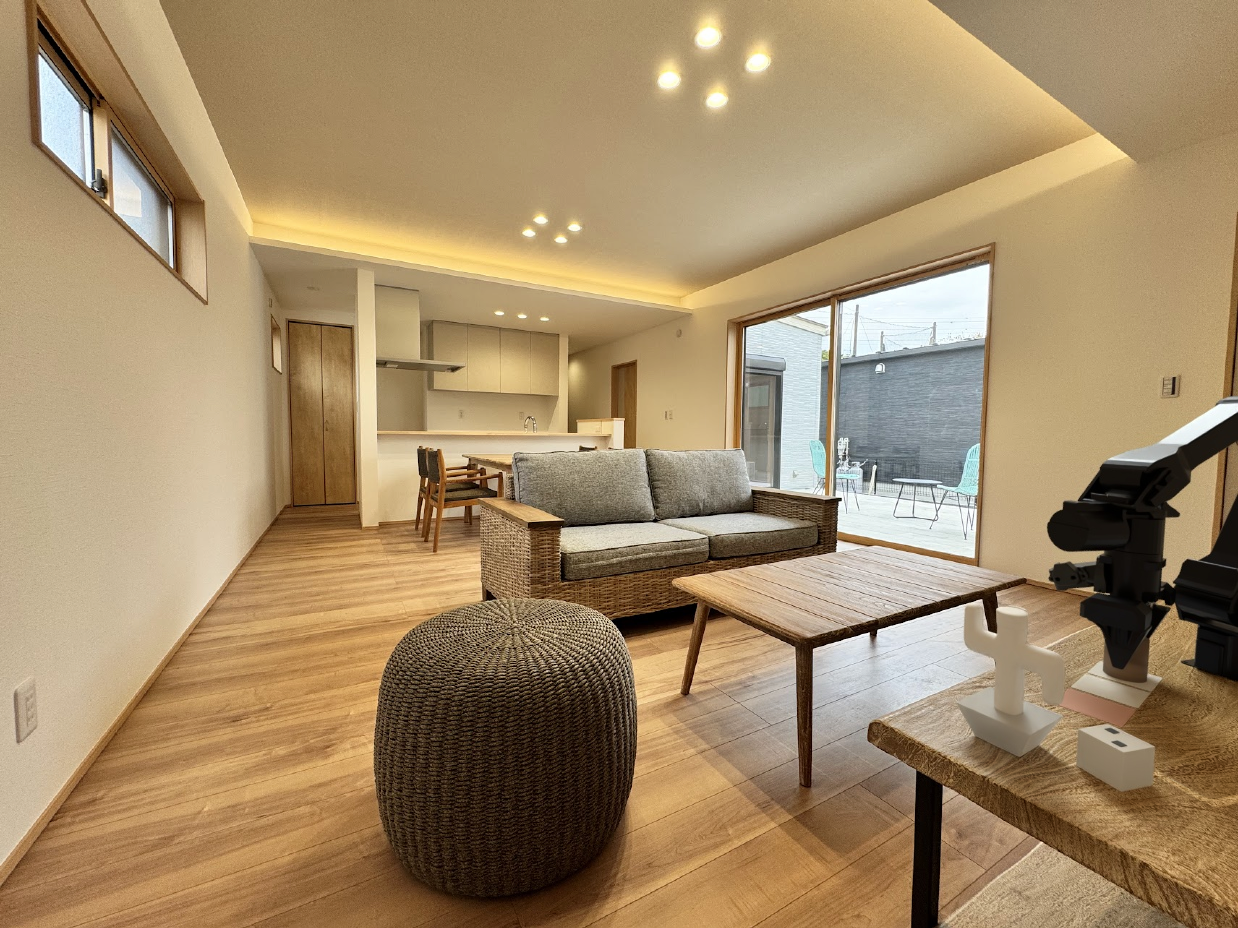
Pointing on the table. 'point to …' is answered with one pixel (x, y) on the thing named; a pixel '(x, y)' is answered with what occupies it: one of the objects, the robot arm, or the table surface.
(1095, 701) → the game board
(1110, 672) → the pawn
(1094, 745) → the cream box with slots
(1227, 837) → the table surface
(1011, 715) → the figurine
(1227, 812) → the table surface
